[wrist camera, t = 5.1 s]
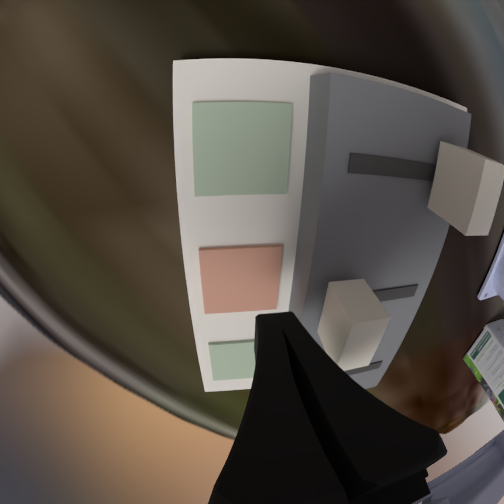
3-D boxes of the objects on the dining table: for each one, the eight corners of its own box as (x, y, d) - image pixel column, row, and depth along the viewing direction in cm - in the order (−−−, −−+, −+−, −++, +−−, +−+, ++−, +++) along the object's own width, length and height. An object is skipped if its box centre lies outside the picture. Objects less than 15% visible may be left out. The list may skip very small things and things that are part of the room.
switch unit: (454, 105, 11) (496, 115, 8) (380, 355, 20) (396, 383, 18) (176, 64, 9) (164, 51, 6) (204, 380, 19) (206, 417, 16)
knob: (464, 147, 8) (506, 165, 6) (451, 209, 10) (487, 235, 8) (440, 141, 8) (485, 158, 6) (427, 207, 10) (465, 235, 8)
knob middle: (363, 278, 11) (390, 317, 9) (348, 326, 12) (368, 365, 10) (328, 281, 11) (352, 324, 9) (317, 331, 12) (334, 372, 10)
